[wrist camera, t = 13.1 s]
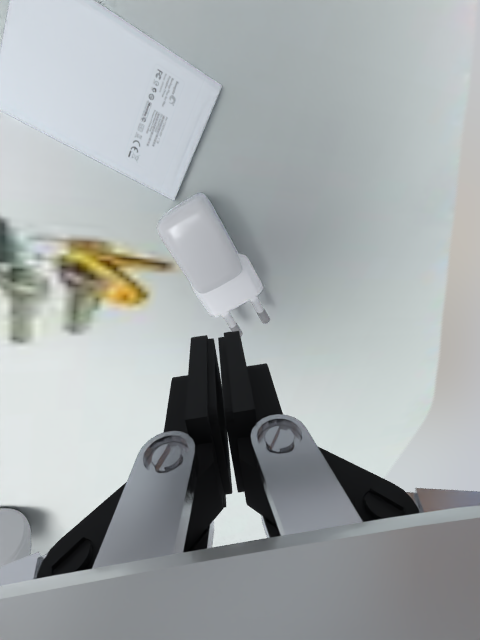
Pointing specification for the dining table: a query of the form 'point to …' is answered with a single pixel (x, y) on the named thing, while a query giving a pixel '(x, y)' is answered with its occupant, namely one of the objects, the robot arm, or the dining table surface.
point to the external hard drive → (104, 89)
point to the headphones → (13, 536)
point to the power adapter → (210, 259)
